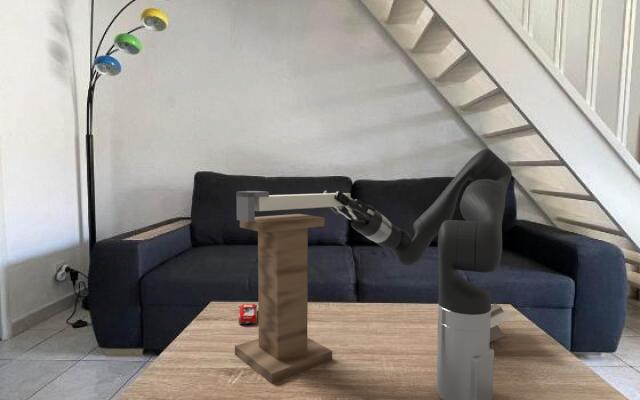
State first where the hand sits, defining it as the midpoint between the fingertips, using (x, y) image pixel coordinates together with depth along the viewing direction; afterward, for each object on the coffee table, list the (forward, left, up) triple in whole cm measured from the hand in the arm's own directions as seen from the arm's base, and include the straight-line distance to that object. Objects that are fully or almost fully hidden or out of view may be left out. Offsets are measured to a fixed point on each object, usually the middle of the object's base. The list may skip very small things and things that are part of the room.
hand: (330, 194), depth 95 cm
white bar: (0, +10, -5) cm, 11 cm away
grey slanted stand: (-23, -29, -37) cm, 53 cm away
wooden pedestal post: (0, +14, -37) cm, 40 cm away
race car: (+27, +8, -37) cm, 47 cm away
